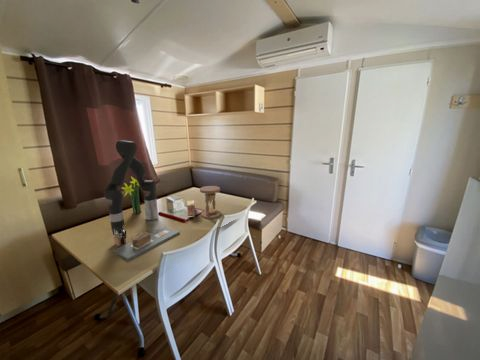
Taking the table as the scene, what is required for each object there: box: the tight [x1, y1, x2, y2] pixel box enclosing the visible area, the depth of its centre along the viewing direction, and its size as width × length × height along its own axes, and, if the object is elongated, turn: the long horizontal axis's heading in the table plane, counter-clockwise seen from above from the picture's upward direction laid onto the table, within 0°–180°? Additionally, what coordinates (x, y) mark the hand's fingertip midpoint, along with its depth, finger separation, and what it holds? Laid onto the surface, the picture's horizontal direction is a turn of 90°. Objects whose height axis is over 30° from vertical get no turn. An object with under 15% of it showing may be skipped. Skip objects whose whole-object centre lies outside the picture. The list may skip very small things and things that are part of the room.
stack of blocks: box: [186, 199, 196, 217], centre depth 182 cm, size 21×6×12 cm, turn 16°
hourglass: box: [199, 185, 222, 220], centre depth 177 cm, size 18×18×25 cm
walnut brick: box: [131, 231, 151, 248], centre depth 131 cm, size 5×10×5 cm, turn 161°
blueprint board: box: [113, 226, 181, 262], centre depth 136 cm, size 16×38×2 cm, turn 148°
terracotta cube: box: [113, 234, 127, 247], centre depth 134 cm, size 5×5×5 cm
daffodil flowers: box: [121, 175, 142, 216], centre depth 180 cm, size 17×15×35 cm
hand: (120, 242), depth 134 cm, fingers closed on terracotta cube, 5 cm apart
